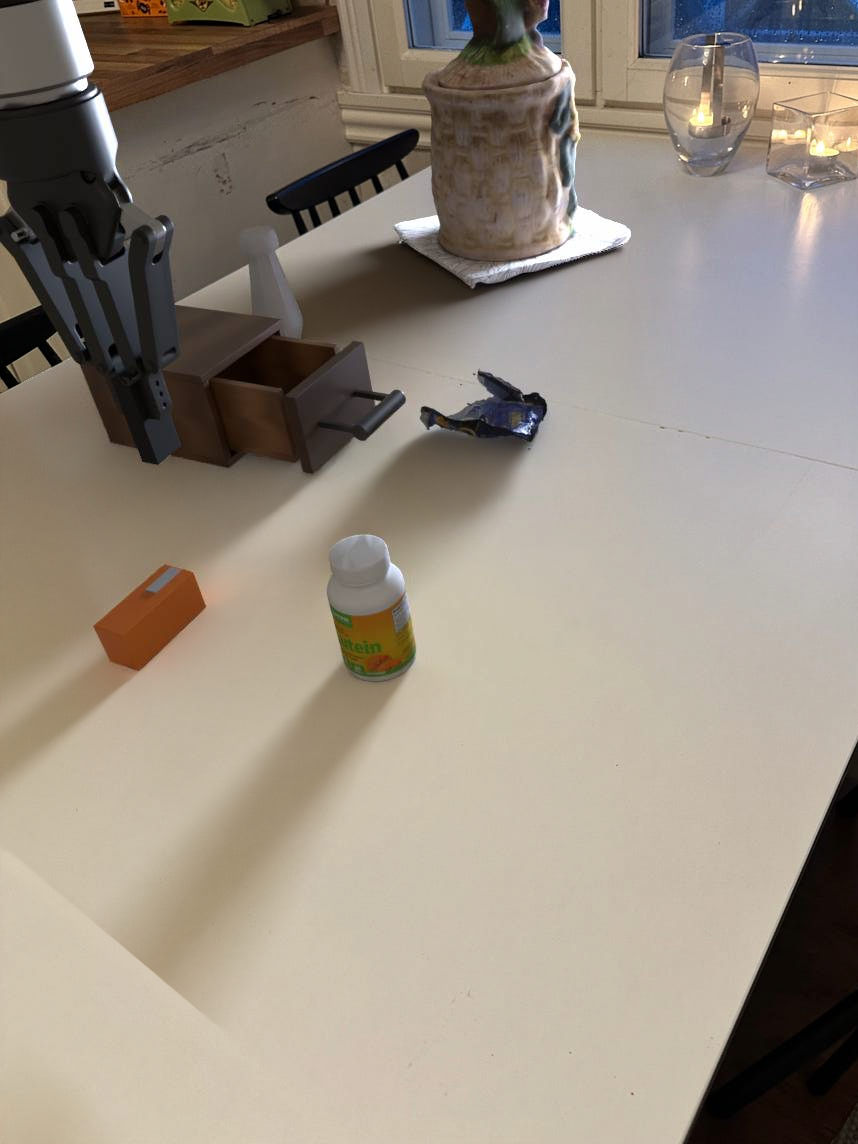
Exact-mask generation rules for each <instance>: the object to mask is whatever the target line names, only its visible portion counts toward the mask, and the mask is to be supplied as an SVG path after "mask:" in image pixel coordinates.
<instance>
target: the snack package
mask: <svg viewBox="0 0 858 1144" xmlns="http://www.w3.org/2000/svg"><path fill="white" fill-rule="evenodd" d="M472 375H473V376H476V380H478V382H479V384H480V385H482V386H483V388H485V390H486V392H488V393H489V394H491V395H493V396H489V397H487V398H485V399H480V400H475V401H473V402H472V403H470V402H466V406H464V407H463V408H462V409H461V410H460V411H458V412H456V413H453V414H449V415H444V414H443V413H441V412H440V411H438V410H436V409H435V408H432V407H429V406H425V405H423V406H420V409H419V410H420V412H419V413H420V416H419V421H420V422H421V423H422V424H423V426H424V427H425V428H426V430H427V431H429V430H431V427H434V425H437V426H438V427H440V429H446V430H449V431H450V432H453V431H454V432H457V433H461V434H464V435H468V436H471V437H474V438H478V439H491V438H492V439H494V438H495V439H496V438H500V437H502V438H503V437H510V436H511V437H514V438H517V439H519V440H523V441H526V442H527V443H531V444H532V442H533V441H534V439H535V437H536V435H537V432H538V431H539V427H540V426H539V425H540V424H541V422H544V419H545V417H546V415H547V412H548V403H547V401H546V399H545V398H544V397H542V396H541V395H540V393H539V392H537V391H535V392H531V393H529V394H527V393H526V394H524V392H523V391H522V390H521V389H520V388H519V387H516V386H514V385H512V384H511V383H510V382H509V381H506V380H504V379H503V378H501V377H500V376H499V377H498V376H495V375H493V373H491V372H489V371H483V370H480V369H478V370H477V373H474V372H473V373H472ZM462 385H463V384H462V383H460V384H459V386H462ZM529 450H531V447H528V451H529Z"/></svg>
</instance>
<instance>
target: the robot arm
mask: <svg viewBox="0 0 858 1144" xmlns="http://www.w3.org/2000/svg"><path fill="white" fill-rule="evenodd" d="M81 26H82V25H81V23H80V20H79V17H78V14H77V12H76V8H75V5H74V2H73V0H0V181H4V182H5V183H6V197H7V201H8V202H9V204H10V205H9V207H8V209H7V210H6V212H4V214H2V215H0V244H1V245H2V246H3V247H4V248H5V250H6V251H7V252H8V253H9V254H10V255H11V257H12V258H13V259H14V261H15V262H16V264H17V266H18V267H19V269H20V271H21V272H22V273H21V274H23V276H24V278H25V280H26V281H27V283H28V285H29V286H30V289H31V290H32V291H33V294H34V295H35V296H36V298H37V300H38V302H39V303H40V305H41V307H42V309H43V310H44V312H45V314H46V315H47V318H48V319H49V320H50V322H51V324H52V326H53V328H54V329H55V331H56V333H57V334H58V336H59V338H60V340H61V341H62V343H63V345H64V347H65V348H66V350H67V351H68V353H69V355H70V356H71V359H73V361H74V362H75V363H76V364H78V365H79V364H80V365H84V364H86V363H89V364H91V365H93V366H95V368H96V370H97V371H98V372H99V373H100V374H101V375H102V376H105V379H106V381H107V384H108V386H109V389H110V392H111V394H112V397H113V399H114V402H115V405H116V407H117V409H118V410H119V412H120V413H121V415H124V416H125V419H126V421H127V424H128V426H129V429H130V432H131V434H132V437H133V440H134V442H135V445H136V447H137V448H136V450H137V453H138V455H139V458H140V461H141V463H143V464H149V465H154V466H160V465H161V464H162V463H163V462H164V461H166V460H167V459H168V458H169V457H170V455H171V454H172V453H174V452H175V451H176V450H177V449H178V448H180V447H181V444H180V441H179V438H178V436H177V433H176V430H175V427H174V424H173V421H172V418H171V415H170V412H171V411H172V402H171V399H170V397H169V393H168V392H167V391H168V390H167V387H166V384H165V381H164V378H163V376H162V372H161V370H162V369H164V368H165V367H166V366H168V365H169V364H170V363H172V362H173V361H174V360H176V359H177V358H178V357H179V356H180V344H179V335H178V327H177V318H176V310H175V305H176V302H175V301H176V300H175V296H174V286H173V285H174V284H173V277H172V267H171V260H170V251H171V247H172V246H171V245H172V241H173V238H174V237H173V236H174V232H175V227H174V223H173V221H172V220H171V219H170V217H169V216H167V215H165V214H159V215H158V216H156V217H155V218H153V217H152V216H150V215H149V214H147V213H146V212H145V211H143V210H142V209H140V208H139V207H138V206H137V205H135V204H133V203H134V202H133V196H132V193H131V192H130V191H131V190H130V189H129V188H128V186H127V185H126V184H125V182H124V181H123V179H122V178H121V176H120V174H119V172H118V170H117V166H116V158H117V153H118V149H119V141H118V139H117V136H116V132H115V129H114V126H113V123H112V120H111V117H110V113H109V111H108V108H107V103H106V101H105V98H104V94H103V92H102V89H101V88H99V87H98V86H97V85H96V84H95V82H92V81H88V79H87V78H88V77H89V76H90V75H92V74H93V72H94V69H95V66H94V61H93V59H92V56H91V54H90V50H89V48H88V43H87V41H86V38H85V34H84V32H83V29H82V27H81ZM82 339H83V340H84V341H82ZM80 365H79V366H80Z"/></svg>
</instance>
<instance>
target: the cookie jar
mask: <svg viewBox="0 0 858 1144" xmlns="http://www.w3.org/2000/svg"><path fill="white" fill-rule="evenodd" d="M549 3H550V0H465V1H464V3H463V6H464V8H465V10H466V12H467V14H468V19H469V21H470V25H471V29H472V37H471V39H470V40H469V41H468V42H467V43H466V44H465V46H464V47H463V48H462V50H461V51H460V52H459V53H458V55H457V56H456V57H455V58H452V59H451V60H450V61H449V62H448V63H447V64H444V65H443V66H441V67H438V68H435V69H433V70H431V71H428V72H427V73H426V74H425V76H424V77H423V80H422V81H421V90H422V93H423V95H424V97H425V98H426V100H427V101H428V103H429V107H430V122H431V125H430V128H431V129H430V138H429V139H430V149H429V150H430V151H429V153H430V154H429V155H430V157H429V158H430V169H431V179H430V182H431V183H430V184H431V193H432V194H431V195H432V199H433V204H434V207H435V210H436V215H432V216H427V217H420V218H417V219H411V220H408V221H407V220H406V221H405V220H404V221H400V222H398V223H395V224H394V225H393V230H394V231H395V233H396V234H397V236H398V237H399V242H400V241H401V239H402V240H403V241H404V242H403V243H406V245H408V246H410V247H411V248H413V249H414V250H415V251H417V252H418V253H419V254H421V255H424V256H425V257H427V258H428V259H430V260H432V261H434V262H435V263H437V264H438V265H440V266H441V267H442V268H444V269H445V270H447V271H449V272H450V273H452V274H453V275H455V276H456V277H457V278H459V279H460V280H462V281H463V282H464V283H465V284H466V285H467V284H468V285H469V286H471V287H473V288H472V289H475V288H476V284H477V283H484V284H497V283H501V282H504V281H507V280H509V279H511V278H513V277H515V276H518V275H520V274H523V273H533V272H538V271H542V270H545V269H548V268H552V267H554V265H555V266H558V265H561V263H562V264H564V262H565V263H568V262H571V261H575V260H578V259H581V258H584V257H583V256H585V257H587V256H586V255H588V256H590V255H589V254H592V255H594V254H593V253H596V254H599V253H602V252H601V251H603V252H606V251H605V250H607V251H609V250H608V249H610V248H613V247H615V246H618V245H621V244H623V245H625V244H626V243H627V242H629V240H630V238H631V230H630V229H629V228H627V226H626V225H624V224H621V223H620V222H614V221H612V220H611V219H606V218H604V217H602V216H599V214H598V213H595V212H593V211H592V210H587V209H585V208H583V207H580V206H579V203H578V198H577V194H576V188H575V183H574V181H575V177H576V158H577V145H578V142H579V141H580V139H581V133H580V131H579V125H580V122H579V115H578V114H579V112H578V110H577V109H576V103H575V84H576V75H575V73H574V72H573V69H572V66H571V65H570V62H569V61H567V60H566V59H565V58H560V57H559V56H558V55H556V54H555V53H554V52H553V51H551V50H550V49H549V48H548V47H546V46H545V45H544V39H543V35H542V33H540V32H539V30H538V29H537V27H538V25H539V24H540V23H542V22H544V21H545V20H547V19H548V10H549V5H550V4H549ZM624 243H625V244H624ZM621 246H622V245H621ZM610 250H611V249H610ZM598 252H599V253H598ZM580 257H581V258H580ZM577 258H578V259H577ZM574 259H575V260H574ZM570 260H571V261H570ZM557 264H558V265H557ZM551 266H552V267H551ZM468 285H467V286H468ZM469 286H468V287H469ZM471 287H470V288H471Z"/></svg>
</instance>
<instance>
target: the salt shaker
mask: <svg viewBox="0 0 858 1144" xmlns="http://www.w3.org/2000/svg"><path fill="white" fill-rule="evenodd" d="M237 242H238V247H239V249H240V252H241V254H242V256H246V257H247V262H248V263H247V264H248V275H249V284H250V285H249V287H250V298H251V300H250V301H251V311H252V312H251V315H255V316H263V317H270V318H277V319H282V322H283V327H284V331H285V335H286V337H291V338H298V339H302V332H303V327H304V317H303V315H302V313H301V309H300V308H299V306H298V303H297V301H296V298H295V295H294V293H293V291H292V289H291V286H290V284H289V281H288V279H287V276H286V274H285V272H284V269H283V267H282V263H281V262H280V260H279V258H278V254H277V252H276V251H277V250H278V248H279V245H280V244H279V238H278V235H277V233H276V231H275V229H274V228H273V227H271V226H268V225H253V226H249V227H246V228H244V229H242V230H241V231H240V232H239V234H238V236H237Z"/></svg>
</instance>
